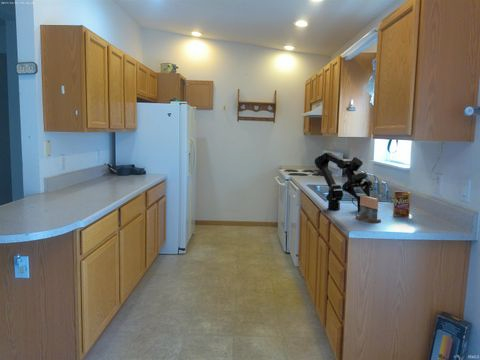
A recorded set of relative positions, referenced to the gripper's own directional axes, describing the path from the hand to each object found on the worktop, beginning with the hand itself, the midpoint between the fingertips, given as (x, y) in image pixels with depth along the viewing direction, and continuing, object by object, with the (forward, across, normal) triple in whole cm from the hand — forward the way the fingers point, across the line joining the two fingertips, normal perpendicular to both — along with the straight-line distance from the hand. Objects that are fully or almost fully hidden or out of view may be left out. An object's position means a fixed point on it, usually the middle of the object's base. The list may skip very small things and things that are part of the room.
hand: (363, 197), depth 224 cm
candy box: (+11, +27, +7) cm, 30 cm away
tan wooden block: (+7, 0, 0) cm, 7 cm away
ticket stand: (+12, 0, +6) cm, 13 cm away
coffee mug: (-4, +14, +22) cm, 27 cm away
